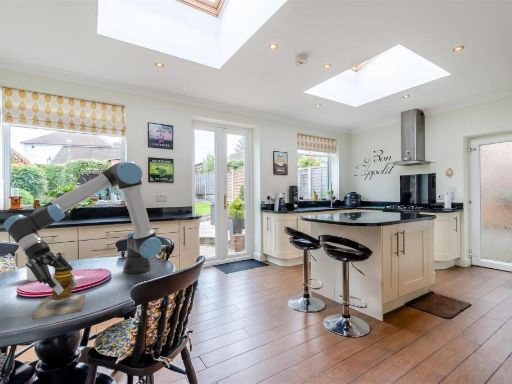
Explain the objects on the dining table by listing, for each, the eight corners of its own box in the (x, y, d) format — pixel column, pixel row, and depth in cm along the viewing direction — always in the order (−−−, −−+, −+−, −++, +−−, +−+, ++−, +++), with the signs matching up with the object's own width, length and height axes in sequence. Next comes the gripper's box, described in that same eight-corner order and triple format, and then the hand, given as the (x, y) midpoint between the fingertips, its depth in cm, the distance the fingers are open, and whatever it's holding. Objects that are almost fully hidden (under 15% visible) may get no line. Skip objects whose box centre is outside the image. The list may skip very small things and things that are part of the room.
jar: (25, 282, 132) (25, 259, 132) (28, 277, 139) (28, 255, 139) (47, 279, 137) (48, 256, 137) (49, 275, 143) (49, 253, 143)
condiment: (59, 301, 101) (60, 270, 101) (43, 298, 103) (44, 268, 103) (77, 294, 108) (78, 266, 108) (62, 292, 110) (63, 263, 110)
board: (85, 296, 116) (85, 293, 116) (81, 310, 102) (81, 307, 102) (42, 303, 108) (42, 300, 108) (32, 319, 95) (32, 315, 95)
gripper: (50, 248, 117) (81, 286, 114) (3, 258, 98) (39, 305, 96) (60, 236, 116) (92, 275, 114) (15, 245, 97) (52, 292, 95)
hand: (68, 289), depth 105 cm, fingers closed on condiment, 6 cm apart
